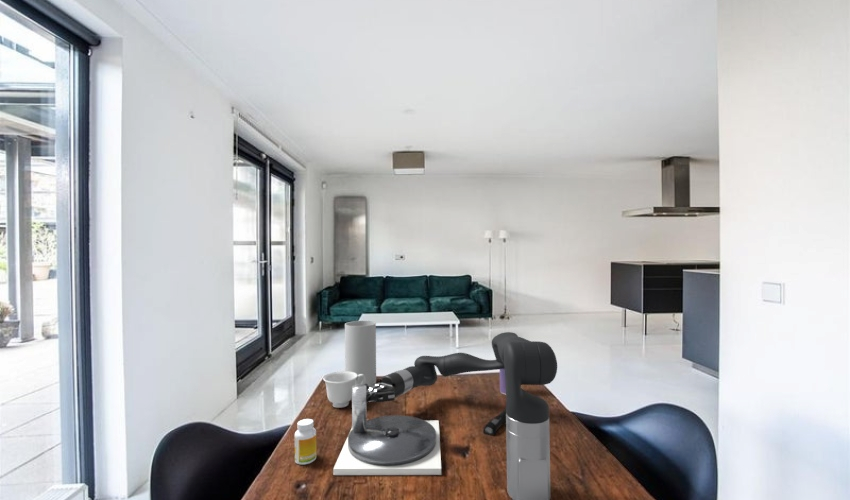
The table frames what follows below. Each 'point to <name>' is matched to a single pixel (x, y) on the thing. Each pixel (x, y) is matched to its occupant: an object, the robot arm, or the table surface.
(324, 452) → the table surface
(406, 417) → the dial
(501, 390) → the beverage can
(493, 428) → the electric trimmer
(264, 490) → the table surface
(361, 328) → the cylinder vase
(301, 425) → the supplement bottle
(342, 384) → the teacup
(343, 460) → the dial base plate
